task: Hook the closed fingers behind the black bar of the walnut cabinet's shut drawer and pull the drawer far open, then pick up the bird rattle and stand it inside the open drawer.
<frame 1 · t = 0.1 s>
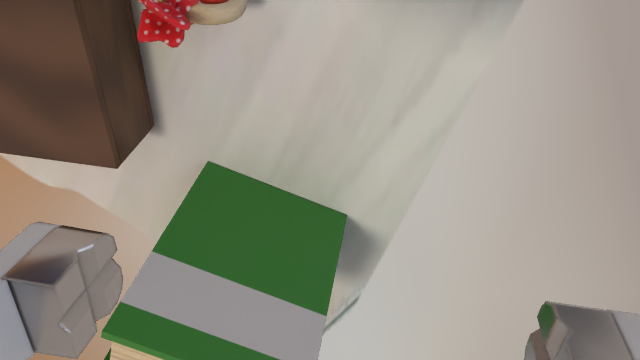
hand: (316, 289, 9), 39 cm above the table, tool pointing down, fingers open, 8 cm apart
hardback book: (270, 208, 61), on the table
cabinet: (72, 36, 52), on the table
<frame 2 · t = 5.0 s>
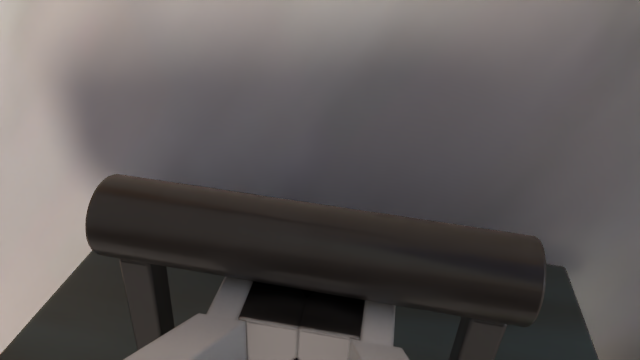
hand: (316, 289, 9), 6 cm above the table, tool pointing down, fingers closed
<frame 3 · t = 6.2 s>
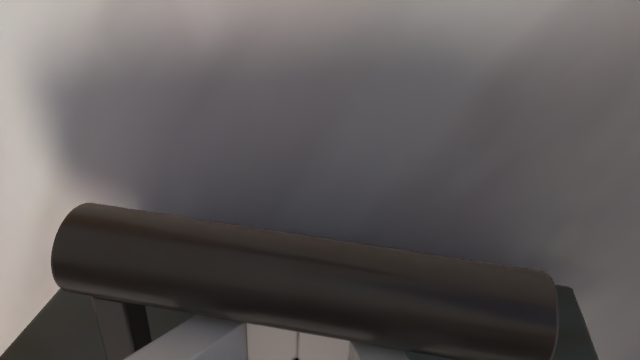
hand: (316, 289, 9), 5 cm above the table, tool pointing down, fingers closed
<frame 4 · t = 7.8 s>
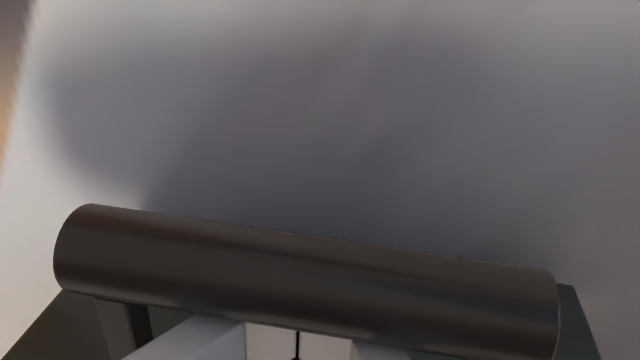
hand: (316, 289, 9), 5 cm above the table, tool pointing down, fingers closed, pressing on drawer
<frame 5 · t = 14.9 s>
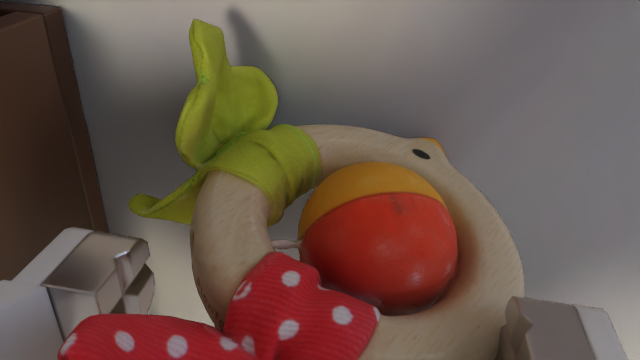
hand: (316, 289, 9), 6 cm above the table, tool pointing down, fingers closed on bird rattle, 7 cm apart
bird rattle: (339, 134, 15), on the table, touching gripper
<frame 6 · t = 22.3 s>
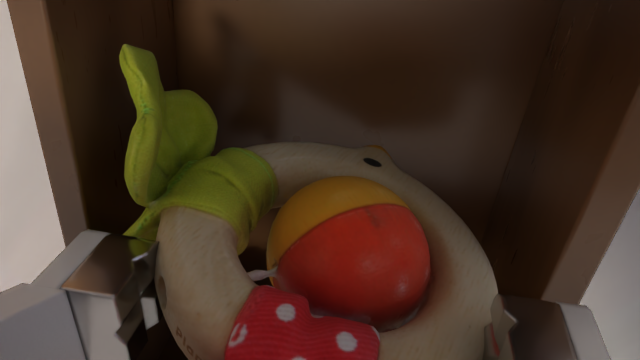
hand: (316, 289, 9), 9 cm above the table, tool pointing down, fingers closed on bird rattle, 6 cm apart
drawer: (337, 84, 12), point 4 cm above the table, slide at 12.9 cm, touching bird rattle
bird rattle: (281, 151, 14), point 4 cm above the table, touching drawer, gripper
when the fingers open (9 cm above the table, at t = 23.6 s): bird rattle drops 1 cm, resting on drawer.
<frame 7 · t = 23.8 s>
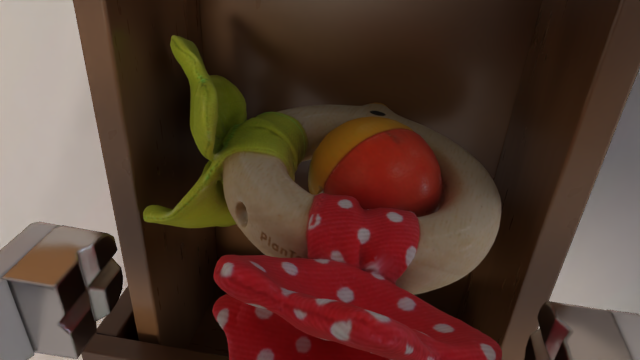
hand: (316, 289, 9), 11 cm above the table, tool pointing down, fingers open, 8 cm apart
drawer: (348, 76, 14), point 4 cm above the table, slide at 13.8 cm, touching bird rattle
bird rattle: (298, 121, 17), point 3 cm above the table, touching drawer
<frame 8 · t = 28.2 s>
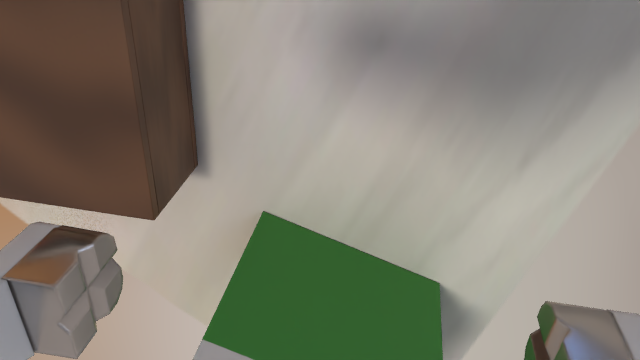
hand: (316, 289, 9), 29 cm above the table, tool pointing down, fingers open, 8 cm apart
hardback book: (337, 273, 48), on the table
cabinet: (101, 46, 40), on the table
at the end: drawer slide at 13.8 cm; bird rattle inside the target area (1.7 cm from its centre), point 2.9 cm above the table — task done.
